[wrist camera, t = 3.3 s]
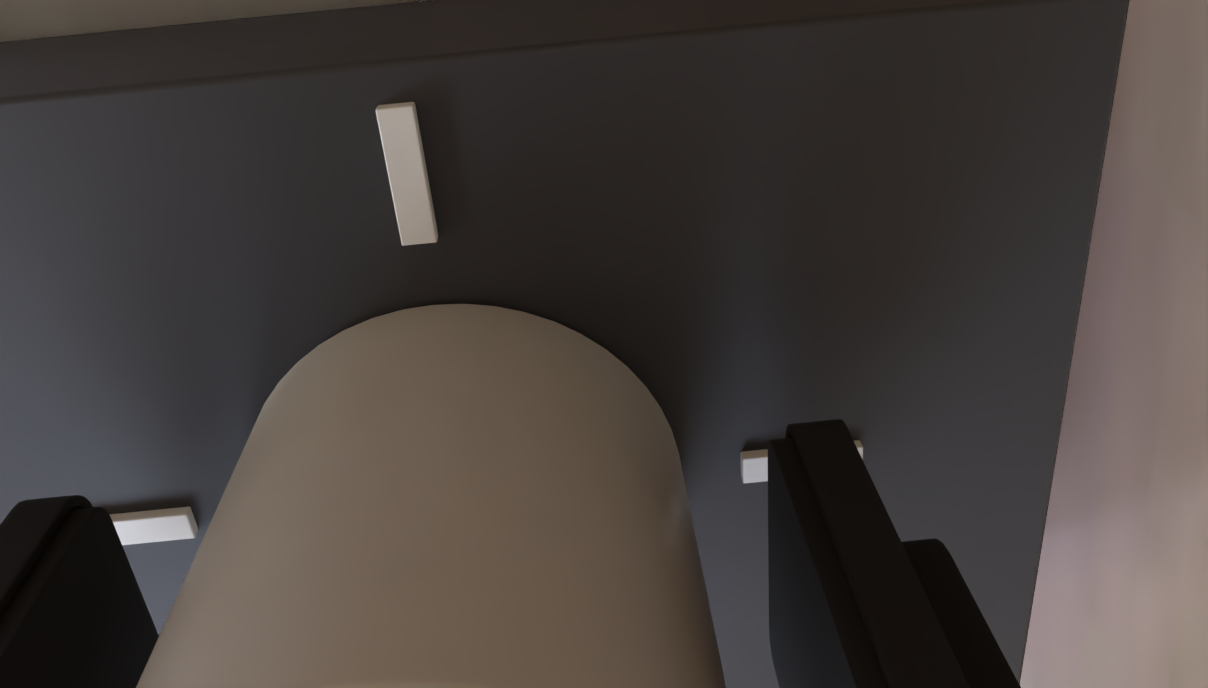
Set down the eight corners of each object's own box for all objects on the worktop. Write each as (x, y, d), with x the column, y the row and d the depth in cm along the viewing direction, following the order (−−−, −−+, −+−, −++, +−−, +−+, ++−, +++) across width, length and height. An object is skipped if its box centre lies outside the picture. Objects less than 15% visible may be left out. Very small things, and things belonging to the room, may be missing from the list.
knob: (669, 278, 11) (772, 685, 6) (690, 630, 13) (775, 1121, 8) (194, 325, 11) (-95, 773, 6) (302, 668, 13) (161, 1184, 8)
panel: (1007, -57, 12) (1143, -10, 9) (942, 580, 17) (1019, 735, 14) (-167, 57, 12) (-377, 138, 9) (104, 663, 17) (19, 835, 14)
